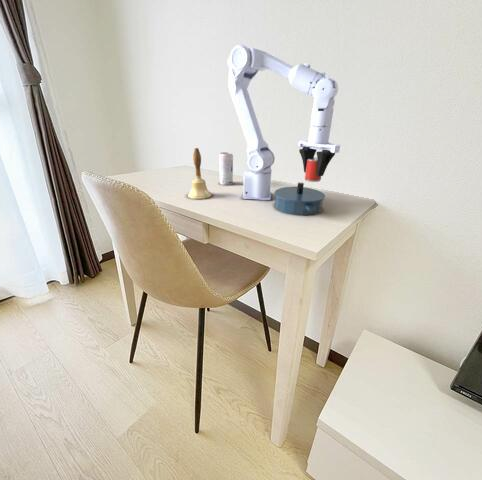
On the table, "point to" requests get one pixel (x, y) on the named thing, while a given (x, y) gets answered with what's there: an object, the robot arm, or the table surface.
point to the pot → (298, 207)
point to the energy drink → (226, 168)
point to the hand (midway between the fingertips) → (313, 174)
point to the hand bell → (198, 180)
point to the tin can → (312, 170)
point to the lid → (300, 194)
